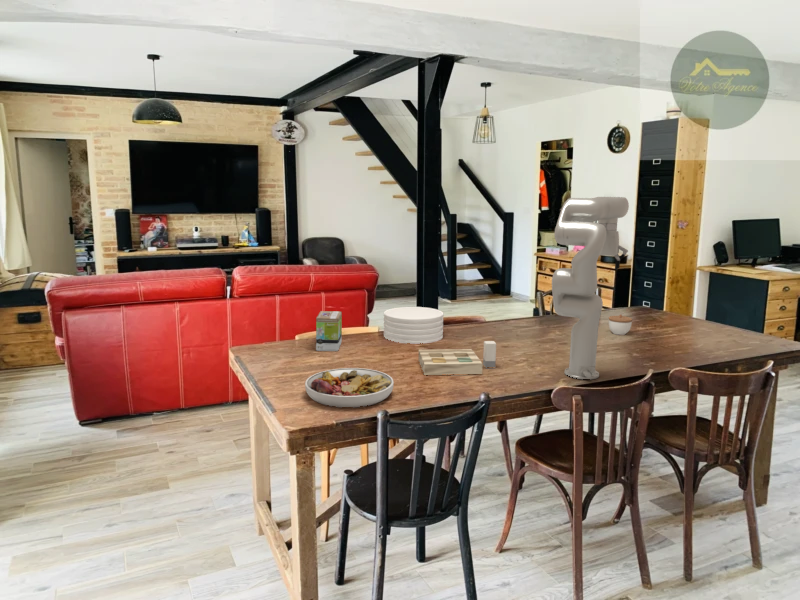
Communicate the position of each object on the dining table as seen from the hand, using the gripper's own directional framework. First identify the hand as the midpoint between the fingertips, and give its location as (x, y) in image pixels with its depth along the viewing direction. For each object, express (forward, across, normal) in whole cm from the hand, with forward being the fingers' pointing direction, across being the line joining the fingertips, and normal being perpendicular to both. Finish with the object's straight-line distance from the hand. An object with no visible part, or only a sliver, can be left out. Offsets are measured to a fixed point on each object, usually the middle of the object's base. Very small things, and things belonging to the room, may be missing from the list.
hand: (604, 269), depth 249 cm
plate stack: (+37, -82, -12) cm, 91 cm away
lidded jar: (+37, +2, +44) cm, 57 cm away
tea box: (+37, -106, -48) cm, 122 cm away
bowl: (+38, -64, -94) cm, 120 cm away
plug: (+37, -34, -40) cm, 64 cm away
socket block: (+37, -47, -49) cm, 77 cm away
